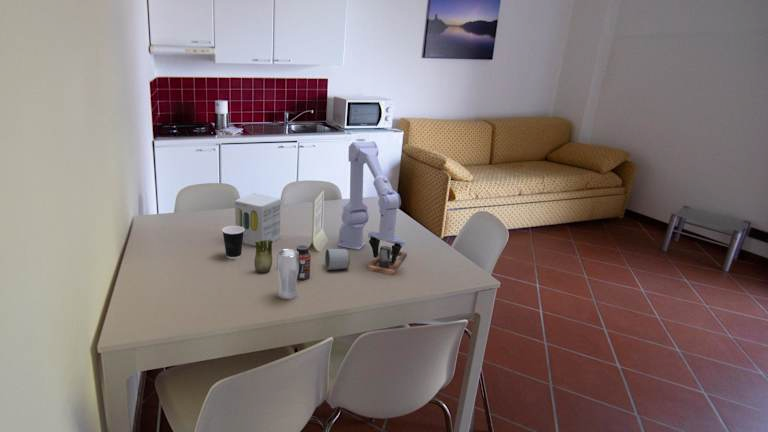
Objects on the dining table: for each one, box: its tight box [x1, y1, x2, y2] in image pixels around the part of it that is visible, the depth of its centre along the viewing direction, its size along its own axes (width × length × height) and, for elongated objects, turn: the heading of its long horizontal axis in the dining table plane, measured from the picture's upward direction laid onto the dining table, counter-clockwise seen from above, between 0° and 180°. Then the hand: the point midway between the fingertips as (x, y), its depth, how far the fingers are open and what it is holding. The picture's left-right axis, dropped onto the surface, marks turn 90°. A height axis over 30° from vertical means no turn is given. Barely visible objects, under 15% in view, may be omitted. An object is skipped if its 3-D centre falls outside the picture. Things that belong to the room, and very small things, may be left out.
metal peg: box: [378, 245, 392, 269], centre depth 186 cm, size 4×4×8 cm
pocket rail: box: [366, 248, 408, 276], centre depth 191 cm, size 10×20×2 cm, turn 163°
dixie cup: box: [221, 225, 244, 260], centre depth 184 cm, size 8×8×11 cm
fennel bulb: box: [253, 240, 273, 273], centre depth 174 cm, size 6×5×12 cm
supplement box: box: [234, 192, 282, 247], centre depth 200 cm, size 13×13×18 cm
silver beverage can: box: [276, 248, 299, 300], centre depth 158 cm, size 7×7×15 cm
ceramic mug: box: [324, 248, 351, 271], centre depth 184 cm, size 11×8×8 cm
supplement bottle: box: [295, 244, 312, 281], centre depth 172 cm, size 6×6×11 cm
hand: (384, 259), depth 186 cm, fingers open, 7 cm apart
